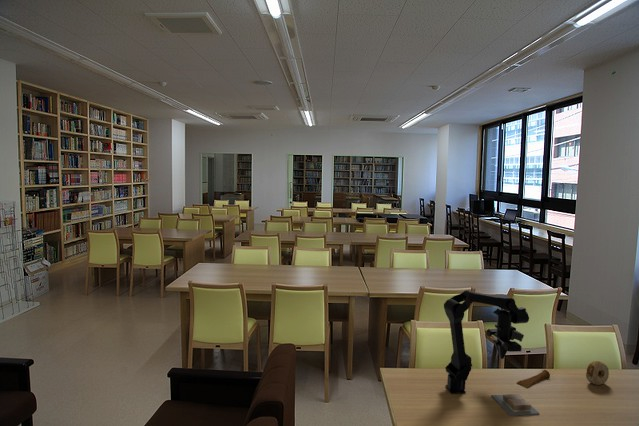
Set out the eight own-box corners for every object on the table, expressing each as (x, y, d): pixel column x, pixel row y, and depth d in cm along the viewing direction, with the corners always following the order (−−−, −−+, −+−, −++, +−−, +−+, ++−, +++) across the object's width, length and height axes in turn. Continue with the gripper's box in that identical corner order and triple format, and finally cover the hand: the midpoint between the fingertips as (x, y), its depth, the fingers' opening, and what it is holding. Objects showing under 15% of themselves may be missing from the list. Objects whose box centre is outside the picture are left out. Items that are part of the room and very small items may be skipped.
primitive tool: (527, 389, 180) (527, 381, 179) (515, 384, 184) (515, 376, 184) (550, 378, 190) (551, 371, 190) (539, 374, 194) (539, 366, 194)
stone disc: (591, 386, 182) (592, 365, 181) (583, 382, 186) (585, 361, 185) (609, 384, 185) (611, 363, 184) (602, 380, 188) (604, 359, 188)
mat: (510, 415, 159) (510, 414, 159) (491, 396, 173) (491, 395, 172) (539, 414, 160) (539, 413, 160) (518, 395, 174) (518, 394, 174)
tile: (502, 400, 169) (513, 411, 161) (503, 394, 168) (514, 405, 160) (518, 399, 169) (530, 410, 161) (519, 393, 169) (531, 404, 161)
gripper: (534, 332, 171) (532, 367, 173) (509, 316, 190) (507, 349, 191) (509, 332, 170) (507, 368, 172) (486, 316, 189) (484, 349, 190)
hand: (501, 358), depth 181 cm, fingers closed
